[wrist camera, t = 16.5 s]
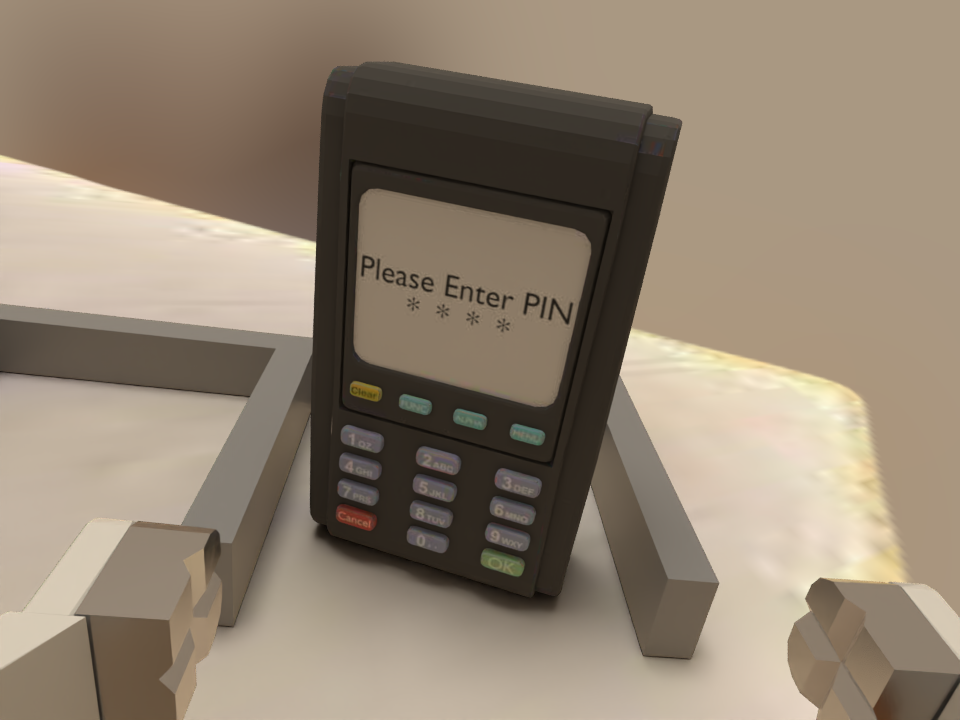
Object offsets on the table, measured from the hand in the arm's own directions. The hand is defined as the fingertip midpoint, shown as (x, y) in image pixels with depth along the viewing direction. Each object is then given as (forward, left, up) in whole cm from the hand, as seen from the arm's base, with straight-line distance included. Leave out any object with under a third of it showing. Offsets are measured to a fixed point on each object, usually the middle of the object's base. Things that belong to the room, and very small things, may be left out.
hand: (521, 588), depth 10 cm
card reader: (0, +12, -10) cm, 15 cm away
